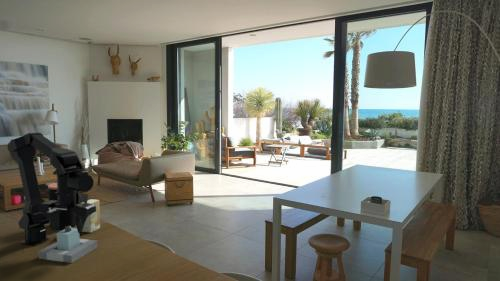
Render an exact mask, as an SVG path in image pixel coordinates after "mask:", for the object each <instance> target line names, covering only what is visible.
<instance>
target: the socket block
mask: <svg viewBox="0 0 500 281" xmlns="http://www.w3.org/2000/svg"><path fill="white" fill-rule="evenodd" d="M97 248H98V240H94V239H86V238H80V245H79V246H78V247H76V248H74V249H72V250H71V251H63V250H57V241H56V242H53V244H50V245H48V246H46V247H44V248H42V249H41V250H39V251H38V253H37V254H38V259H41V260H47V261H48V260H49V261H54V262H62V263H68V264H73V263H74V262H76V261H78V260H79V259H81V258H83V257H84V256H85V255H87V254H89V253H90V252H92V251H93V250H96V249H97Z"/></svg>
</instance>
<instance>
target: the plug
mask: <svg viewBox="0 0 500 281" xmlns="http://www.w3.org/2000/svg"><path fill="white" fill-rule="evenodd" d="M80 239H81V237H80V234H79V233H78V230H77V227H76V228H75V227H72V228H71V226H65V229H63V230H59V231H57V232H56V242H57V250H63V251H71V250H72V249H74V248H76V247H78V246H79V245H80Z"/></svg>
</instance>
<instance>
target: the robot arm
mask: <svg viewBox="0 0 500 281" xmlns="http://www.w3.org/2000/svg"><path fill="white" fill-rule="evenodd" d="M7 150H8V153H9V155H10V158H12V159H13V161H15V162H16V163H17V165H18V170H19V175H20V179H21V184H22V189H23V193H24V198H25V204H24V206H23V208H22V216H21V218H20V220H19V221H18V222H17V223H18V226H19V227H18V228H19V229H22V230H24V240H23V241H21V244H22V245H29V246H38V245H39V244H42V243H44V242H46V241H47V240H49V237H47V229H46V225H49V224H50V223H51V224H52V226H53V227H54V229H53V230H55V232H59V231H60V230H59V214H60V211H61V210H67V211H75V214H76V215H77V216H75V221H76V228H77V230H78V233H79V235H80V234H81V233H83V232H82V230H83V227H84V224H85V221H86V219H87V217H88V216H89V215H91V214H92V213H94V212H96V206H95V205H94V204H88V203H87V201H88V200H89V197H90V196H89V194H86V193H87V192H89V191H91V190H92V188H93V186H94V182H95V181H94V179H93V177H92V175H90V174H89V171H87V170H86V169H85V167H84V163H83V162H82V161H81V160H80V157H79V156H78V154H77V152H76V151H74V150H72V149H68V148H63V147H60V146H58V145H57V144H56V143H54V142H53V141H52V140H50V139H48V138H47V137H45V136H44V135H43V133H42V132H38V131H37V132H27V133H25V134H24V135H22V136H20V137H16V138H12V139H10V141H9V142H8V143H7ZM37 150H38V152H40V153H42V154H43V155H45V157H47V158H48V159H49V163H50V165H51V166H52V167H53V168H54V169H55V170H54V171H53V172H52V174H53V175H55V176H56V183H57V192H55V195H56V196H58V201H55V200H50V201H49V200H44V198H43V197H42V195H41V191H40V186H39V181H38V176H37V173H36V171H37V170H36V167H35V163H34V159H35V157H36V154H37ZM80 192H82V193H80ZM82 202H84V203H85V204H82V205H81V203H82Z"/></svg>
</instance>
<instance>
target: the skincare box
mask: <svg viewBox="0 0 500 281" xmlns="http://www.w3.org/2000/svg"><path fill="white" fill-rule="evenodd" d="M87 203H88V204H94V205H95V206H96V212H94V213H92V214H91V215H89V216H88V217H87V219H86V221H85V224H84V227H83V230H82V232H81V233H93V232H95V231H97V230H98V229H101V214H100V212H101V211H100V210H101V209H100V199H95V198H94V199H91V198H90V199H88V201H87ZM82 204H85V203H84V202H81V204H80V205H82Z"/></svg>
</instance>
